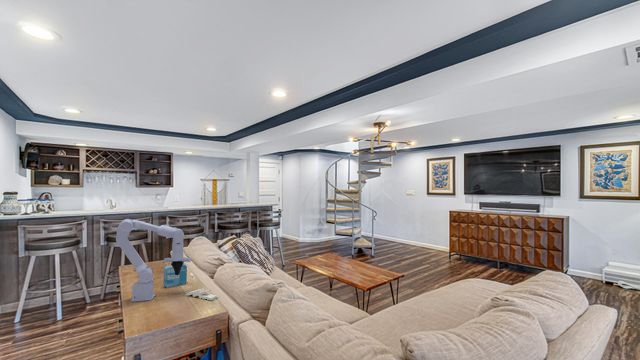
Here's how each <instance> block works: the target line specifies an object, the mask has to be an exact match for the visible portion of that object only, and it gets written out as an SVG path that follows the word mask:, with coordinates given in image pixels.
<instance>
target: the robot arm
mask: <svg viewBox="0 0 640 360" xmlns="http://www.w3.org/2000/svg"><path fill="white" fill-rule="evenodd" d="M133 229H134V231H137V230H141V229H142V230H145V231H146V230H147V231H151V232H155V233H157V235H158V236H161V237H165V238H169V239H171V238H172V244H171V245H172V246H171V257H165V258H164V259H163V262H164V263H170V264H171V265H172V267H173V269H174V271H175V275H179V274H180V270H181V267H182V265H183V264H185V263H191V262H192V257H185V256H184V245H185V244H184V243H185V242H184V237H185V233H184V231H183V230H182V229H180V228H177V227H173V226H169V225H168V224H162V225H155V224H151V223H148V222H145V221H142V220H137V219H133V220H132V219H130V218H125V219H123V220H122V221H120V223H119V225H118V226H117V228H116V235H115V241H116V243H117V245H118V246H119V248H120V249H121V251H122V252H123V253H124V255H125V256H126V258H127V259H128V260H129V262H130V263H131V264H132V266H133V268H134V269H135V271H136V273H137V275H138V279H139V280H138V281H136V282H133V285H132V289H131V302H133V303H134V302H143V301H144V302H145V301H152V300H154V298H155V296H156V294H155V293H154V287H155V286H154V284H155V283H154V270H153V269H152V267H150V266H148V265H147V264H146V263H145V262H144V261H145V260H143V259H142V257H141V256H140V255H139V253H138V251H137V250H136V248H135V247H134V246H133V244H132V242H131V241H130V240H129V236H130V233H131V232H132V231H133ZM171 265H170V266H171Z"/></svg>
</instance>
